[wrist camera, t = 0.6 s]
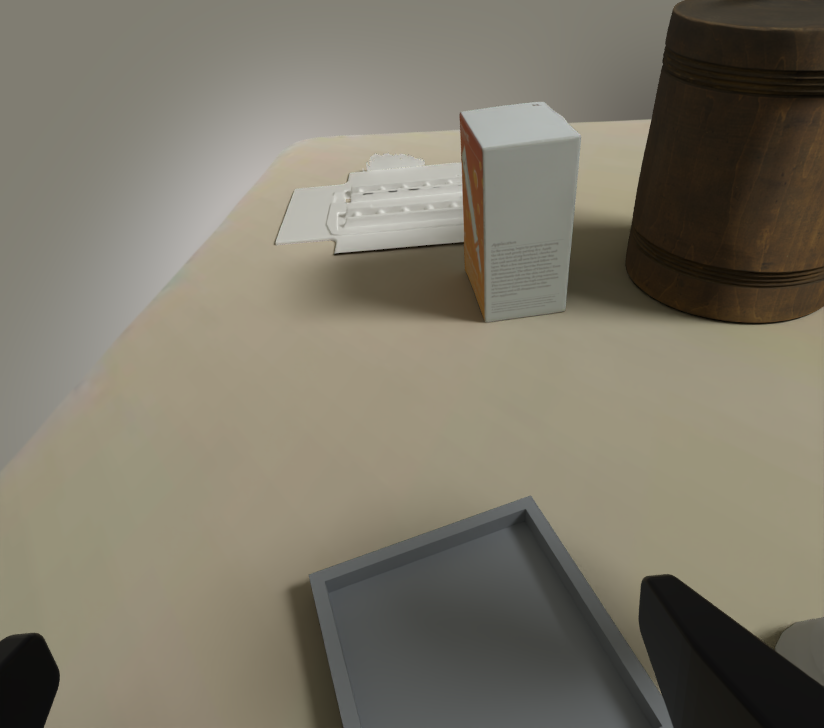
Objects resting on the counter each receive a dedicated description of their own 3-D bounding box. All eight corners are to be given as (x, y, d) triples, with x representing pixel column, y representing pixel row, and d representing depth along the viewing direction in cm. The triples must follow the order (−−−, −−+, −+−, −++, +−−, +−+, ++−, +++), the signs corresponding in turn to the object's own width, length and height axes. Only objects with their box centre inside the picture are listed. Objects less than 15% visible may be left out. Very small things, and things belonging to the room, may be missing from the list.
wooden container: (872, 327, 38) (1089, -93, 24) (639, 323, 41) (715, -59, 27) (793, 227, 49) (911, -99, 35) (614, 229, 52) (659, -74, 38)
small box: (463, 271, 48) (457, 109, 40) (537, 261, 49) (546, 99, 40) (483, 324, 42) (480, 146, 34) (567, 313, 42) (585, 133, 34)
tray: (680, 752, 21) (689, 737, 20) (385, 896, 18) (379, 887, 17) (529, 513, 29) (530, 495, 28) (315, 592, 27) (308, 574, 26)
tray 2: (572, 241, 52) (574, 203, 50) (274, 278, 54) (263, 243, 52) (531, 163, 68) (531, 131, 66) (302, 193, 70) (294, 163, 67)
